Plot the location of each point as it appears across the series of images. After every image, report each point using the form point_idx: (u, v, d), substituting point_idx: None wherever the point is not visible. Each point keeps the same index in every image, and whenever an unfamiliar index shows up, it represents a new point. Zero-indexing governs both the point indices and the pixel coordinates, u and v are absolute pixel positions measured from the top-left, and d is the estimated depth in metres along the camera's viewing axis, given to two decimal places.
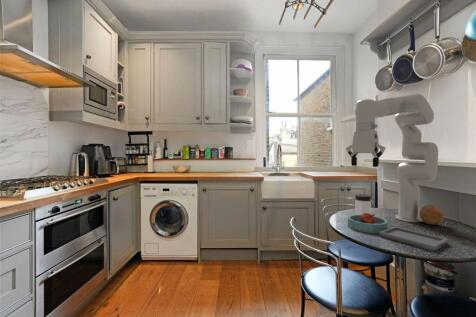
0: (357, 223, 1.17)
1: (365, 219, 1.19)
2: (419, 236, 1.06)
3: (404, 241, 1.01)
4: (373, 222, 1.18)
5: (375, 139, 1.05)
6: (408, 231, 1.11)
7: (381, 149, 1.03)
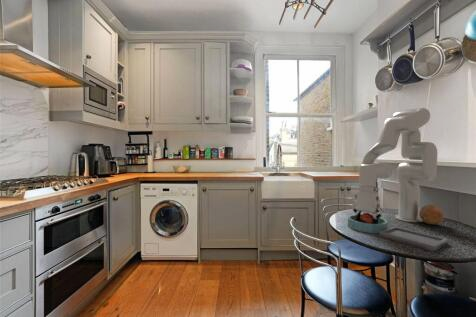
0: (357, 223, 1.17)
1: (365, 219, 1.19)
2: (419, 236, 1.06)
3: (404, 241, 1.01)
4: None
5: (376, 201, 1.17)
6: (408, 231, 1.11)
7: (381, 213, 1.15)
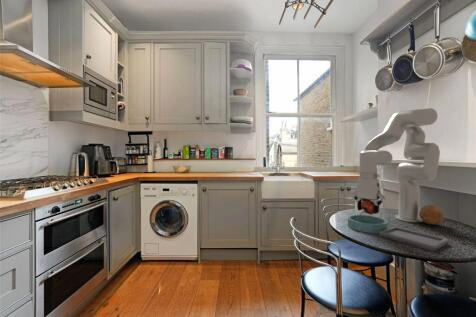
0: (357, 223, 1.17)
1: (366, 206, 1.19)
2: (419, 236, 1.06)
3: (404, 241, 1.01)
4: None
5: (377, 188, 1.17)
6: (408, 231, 1.11)
7: (381, 199, 1.15)
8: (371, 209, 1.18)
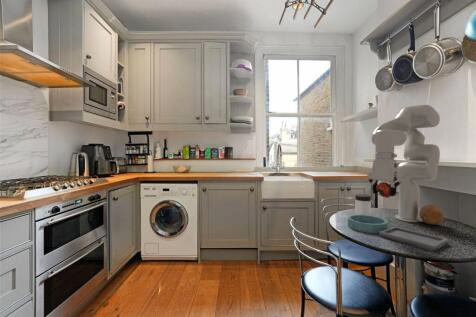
0: (357, 223, 1.17)
1: (382, 188, 1.12)
2: (419, 236, 1.06)
3: (404, 241, 1.01)
4: None
5: (395, 168, 1.10)
6: (408, 231, 1.11)
7: (399, 180, 1.08)
8: (387, 191, 1.11)
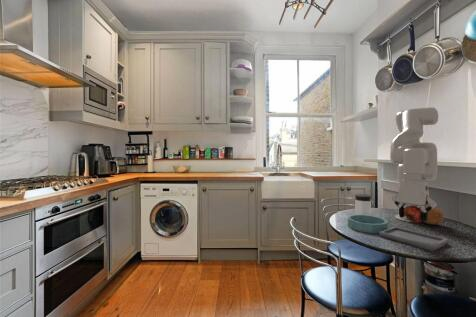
0: (357, 223, 1.17)
1: (411, 212, 1.01)
2: (419, 236, 1.06)
3: (404, 241, 1.01)
4: None
5: (426, 191, 0.99)
6: (408, 231, 1.11)
7: (432, 205, 0.98)
8: (418, 216, 1.00)
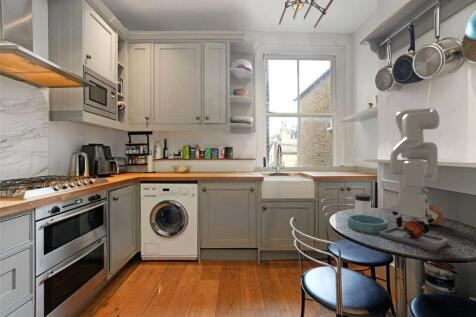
0: (357, 223, 1.17)
1: (411, 228, 1.02)
2: None
3: (404, 241, 1.01)
4: (421, 232, 1.01)
5: (426, 204, 1.00)
6: None
7: (433, 216, 0.97)
8: (418, 232, 1.01)
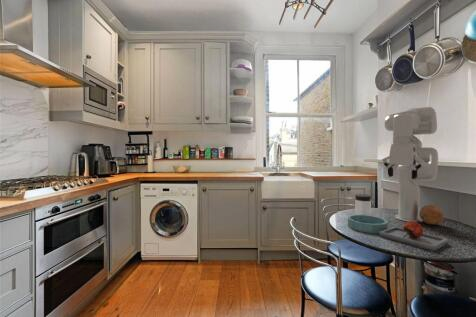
0: (357, 223, 1.17)
1: (411, 228, 1.02)
2: None
3: (404, 241, 1.01)
4: (421, 232, 1.01)
5: (414, 152, 1.10)
6: None
7: (420, 162, 1.08)
8: (418, 232, 1.01)
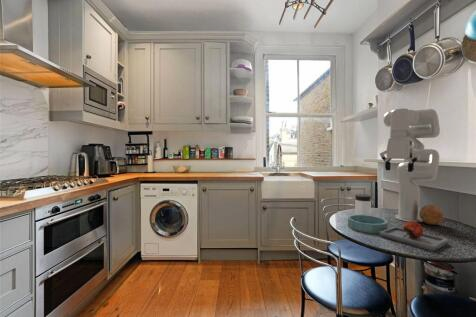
0: (357, 223, 1.17)
1: (411, 228, 1.02)
2: None
3: (404, 241, 1.01)
4: (421, 232, 1.01)
5: (410, 146, 1.13)
6: None
7: (416, 155, 1.11)
8: (418, 232, 1.01)
